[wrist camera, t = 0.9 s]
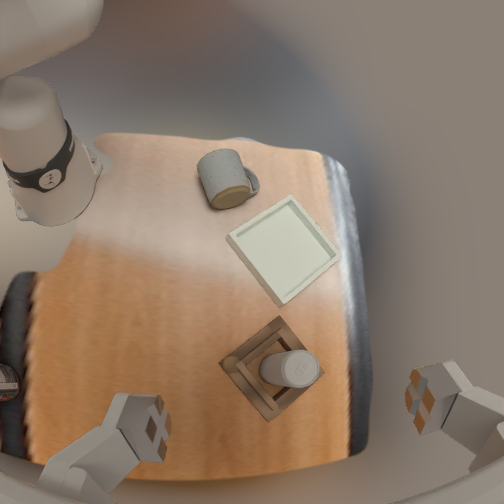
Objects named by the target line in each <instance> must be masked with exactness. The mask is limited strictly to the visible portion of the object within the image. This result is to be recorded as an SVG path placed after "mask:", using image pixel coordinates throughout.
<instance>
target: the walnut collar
mask: <svg viewBox="0 0 504 504" xmlns="http://www.w3.org/2000/svg"><path fill="white" fill-rule="evenodd" d="M277 340H278V341H279V342H280V343H281V345H282V346H283V347H284V348H285V350H286V351H293V350H306V351H308V350H307V349H306V348H305V347H304V345H303V344H302V343H301V342H300V340H299V339H298V338H297V337H296V335H295V334H294V333H293V332H292V330H291V329H290V328H289V327H288V325H287V324H286V323H285V321H284V320H283V319H282V318H281V316H278V317H277V318H276V319H274V320H273V321H272V322H271V323H270V324H268V325H267V326H266V327H265V328H263V329H262V330H261V331H259V332H258V333H257V334H256V335H254V336H253V337H252V338H251V339H249V340H248V341H247V342H245V343H244V344H243V345H242V346H240V347H239V348H238V349H236V350H235V351H234V352H232V353H231V354H230V355H229V356H227V357H226V358H225V359H223V360H222V361H221V362H219V364H220V365H221V367H222V368H223V369H224V370H225V372H226V373H227V374H228V375H229V377H230V378H231V379H232V380H233V381H234V383H235V384H236V385H237V386H238V388H239V389H240V390H241V391H242V392H243V394H244V395H245V396H246V397H247V398H248V399H249V401H250V402H251V403H252V404H253V405H254V406H255V408H256V409H257V410H258V411H259V412H260V413H261V415H262V416H263V417H264V418H265V419H266V420H267V421H268V422H270V421H271V420H273V419H274V418H275V417H276V416H277V415H279V414H280V413H281V412H282V411H283V410H284V409H286V408H287V407H288V406H289V405H290V404H291V403H292V402H294V401H295V400H296V399H297V398H298V397H299V396H300V395H302V394H303V393H304V392H305V391H306V390H307V389H308V388H309V387H310V386H311V385H312V384H314V383H315V382H316V381H317V380H318V379H319V378H320V377H321V376H322V375H323V374H324V373H325V372H324V370H323V369H322V368H321V367H320V366H319V374H318V376H317V378H316V380H315V381H314V382H313V383H312V384H310V385H309V386H306V387H303V388H294V387H287V386H286V387H285V388H284V389H283V390H281V391H280V392H279V393H278V394H277V395H275V396H274V397H273V398H271V396H270V395H269V394H268V393H267V392H266V391H265V389H264V388H263V387H262V386H261V385H260V383H259V382H258V381H257V380H256V378H255V377H254V376H253V375H252V374H251V372H250V371H249V370H248V369H247V367H246V365H247V364H248V363H249V362H251V361H252V360H253V359H254V358H256V357H257V356H258V355H259V354H261V353H262V352H263V351H264V350H266V349H267V348H268V347H269V346H271V345H272V344H273V343H274V342H275V341H277Z"/></svg>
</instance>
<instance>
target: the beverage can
mask: <svg viewBox="0 0 504 504" xmlns="http://www.w3.org/2000/svg"><path fill="white" fill-rule="evenodd" d="M259 372H260V376H261V377H262V379H263V380H264V381H265V382H267V383H269V384H274V385H280V386H287V387H294V388H303V387H306V386H309V385H310V384H312V383H313V382H314V381H315V380H316V378H317V376H318V374H319V363H318V360H317V358H316V357H315V356H314V355H313V354H312V353H310V352H309V351H306V350H293V351H287V352H281V353H275V354H270V355H268V356H266V357H265V358H264V359H263V360H262V362H261V364H260V371H259Z"/></svg>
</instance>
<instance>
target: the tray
mask: <svg viewBox="0 0 504 504" xmlns="http://www.w3.org/2000/svg"><path fill="white" fill-rule="evenodd" d="M226 240H227V242H228V243H229V244H230V246H231V247H232V248H233V249H234V251H235V252H236V253H237V255H238V256H239V257H240V258H241V260H242V261H243V262H244V264H245V265H246V266H247V267H248V269H249V270H250V271H251V273H252V274H253V275H254V276H255V278H256V279H257V280H258V282H259V283H260V284H261V285H262V287H263V288H264V289H265V291H266V292H267V293H268V294H269V296H270V297H271V298H272V299H273V301H274V302H275V303H276V305H277V306H278V307H279V308H280V307H281V306H283V305H284V304H286V303H287V302H288V301H289V300H290V299H292V298H293V297H294V296H295V295H297V294H298V293H299V292H300V291H301V290H303V289H304V288H305V287H306V286H307V285H309V284H310V283H311V282H312V281H313V280H315V279H316V278H317V277H318V276H319V275H321V274H322V273H323V272H324V271H325V270H326V269H328V268H329V267H330V266H331V265H332V264H333V263H335V262H336V261H337V260H338V259H339V258H340V257H342V255H341V254H340V253H339V251H338V250H337V249H336V248H335V246H334V245H333V244H332V243H331V241H330V240H329V239H328V238H327V236H326V235H325V234H324V233H323V231H322V230H321V229H320V228H319V227H318V225H317V224H316V223H315V222H314V220H313V219H312V218H311V217H310V216H309V214H308V213H307V212H306V211H305V210H304V209H303V207H302V206H301V205H300V204H299V203H298V201H297V200H296V199H295V198H294V197H293V196H292V194H291V195H289V196H288V197H286V198H285V199H283V200H281V201H280V202H278V203H277V204H275V205H273V206H272V207H270V208H268V209H267V210H265V211H264V212H262V213H260V214H259V215H257V216H256V217H254V218H252V219H251V220H249V221H248V222H246V223H245V224H243V225H241V226H240V227H238V228H237V229H235V230H233V231H232V232H230V233H229V234H228V237H227V239H226Z"/></svg>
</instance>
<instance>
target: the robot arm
mask: <svg viewBox="0 0 504 504" xmlns="http://www.w3.org/2000/svg"><path fill="white" fill-rule="evenodd" d="M102 8H103V0H0V157H1V158H2V160H3V165H4V167H5V170H6V173H7V176H8V178H9V179H11V180H9V181H8V184H9V187H10V188H11V189H10V192H11V194H12V196H13V197H14V199H15V205H16V214H17V217H18V219H19V220H21V221H34V222H36V223H38V224H40V225H43V226H58V225H62V224H65V223H67V222H69V221H71V220H72V219H74V218H75V217H77V216H78V215H79V214H80V213H81V212H82V211H83V210H84V209H85V208H86V206H87V205H88V203H89V202H90V200H91V198H92V195H93V192H94V188H95V183H96V179H97V178H98V176H99V175H100V173H101V172H102V169H103V165H102V163H101V162H100V161H99V160H98V159H97V158H96V157H95V156H94V155H93V154H92V153H91V152H90V151H89V150H88V149H87V148H86V146H85V145H84V144H82V143H81V141H79V139H78V138H77V137H75V135H74V134H73V133H72V130H71V128H70V126H69V125H68V123H67V121H66V120H65V119H64V117H63V114H62V110H61V107H60V104H59V100H58V97H57V93H56V91H55V90H54V89H53V87H52V86H51V85H50V84H48V83H47V82H45V81H44V80H42V79H39V78H35V77H18V76H14V75H11V74H13V73H15V72H18V71H20V70H22V69H24V68H27V67H28V66H31V65H34V64H36V63H38V62H41V61H43V60H45V59H48V58H51V57H53V56H55V55H57V54H59V53H60V52H62V51H64V50H66V49H68V48H70V47H72V46H74V45H75V44H77V43H79V42H81V41H83V40H85V39H87V38H88V37H89V36H90V35H91V33H92V32H93V30H94V29H95V27H96V25H97V24H98V21H99V19H100V16H101V13H102ZM92 163H94V164H92ZM409 378H410V380H411V383H410V384H409V385H408V386H407V388H406V392H405V403H406V407H407V409H408V411H409V413H411V414H413V415H415V419H414V421H413V422H414V424H415V426H416V428H417V430H418V432H419V434H420V435H424V434H427V433H430V432H434V431H437V430H440V429H441V430H442V431H443V432H444V433H446V434H447V435H448V436H450V437H451V438H453V439H454V440H455V441H457V442H458V443H460V444H461V445H463V446H464V447H465V448H467V449H468V450H470V451H471V452H473V453H474V454H476V455H477V456H476V457H475V459H474V460H473V461H472V463H471V464H470V466H469V468H468V469H469V471H470V473H469V474H467V475H465V476H463V477H461V478H459V479H456V480H454V481H451V482H449V483H447V484H444V485H442V486H439V487H437V488H434V489H432V490H429V491H426V492H424V493H421V494H418V495H415V496H412V497H409V498H406V499H403V500H400V501H396V502H393V503H389V504H504V398H502V397H500V396H497V395H495V394H493V393H490V392H488V391H486V390H483V389H481V388H479V387H473V386H472V385H471V383H470V382H469V381H468V379H467V378H466V376H465V375H464V374H463V372H462V371H461V370H460V368H459V367H458V366H457V364H456V363H455V362H454V361H453V360H452V359H448V360H445V361H441V362H438V363H434V364H430V365H427V366H424V367H420V368H416V369H413V370H412V372H411V374H410V377H409ZM163 405H164V401H163V399H162V397H161V396H160V395H150V394H137V393H123V392H118V393H116V394H115V396H114V398H113V400H112V402H111V404H110V407H109V409H108V411H107V413H106V415H105V418H104V420H103V422H102V424H101V426H96V427H95V428H93V429H92V430H90V431H89V432H87V433H86V434H85V435H83V436H82V437H80V438H79V439H77V440H76V441H74V442H73V443H71V444H70V445H68V446H67V447H65V448H64V449H62V450H61V451H59V452H58V453H56V454H55V455H53V456H52V457H50V458H49V459H48V461H47V464H46V466H45V468H44V470H43V472H42V474H41V476H40V479H39V481H38V483H37V485H36V486H35V485H32V484H30V483H28V482H25V481H23V480H21V479H18V478H16V477H14V476H12V475H9V474H8V473H5V472H4V471H2V470H0V504H117V503H116V502H115V501H114V500H113V499H112V498H111V497H110V496H109V495H108V494H109V493H110V492H111V491H112V490H113V489H114V488H115V487H116V486H117V485H118V484H119V483H120V482H121V481H122V480H123V479H124V478H125V477H126V476H127V475H128V474H129V473H130V472H131V471H132V470H133V469H134V468H135V467H136V466H137V465H138V464H139V463H140V461H146V462H158V463H164V459H165V455H166V450H167V446H166V444H165V441H166V440H167V439H168V438H169V437H170V433H171V420H170V416H169V413H168V411H166V410H165V409H164V408H163Z"/></svg>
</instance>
